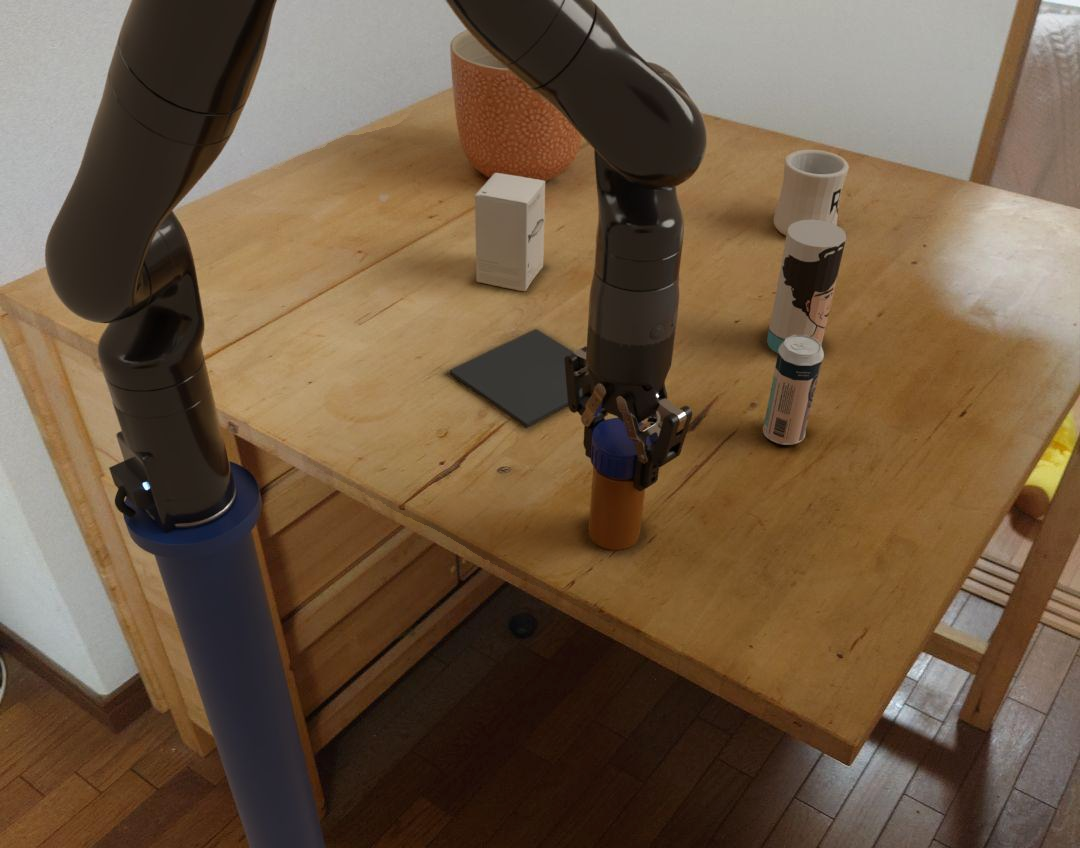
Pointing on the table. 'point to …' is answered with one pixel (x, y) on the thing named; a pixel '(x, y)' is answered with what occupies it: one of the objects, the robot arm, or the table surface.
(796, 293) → the white cylindrical canister
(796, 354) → the beer can
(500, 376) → the mat
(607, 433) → the jar lid
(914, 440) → the table surface
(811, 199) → the mug
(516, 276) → the white packaging box
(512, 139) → the planter
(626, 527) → the jar
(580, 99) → the robot arm
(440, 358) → the table surface
